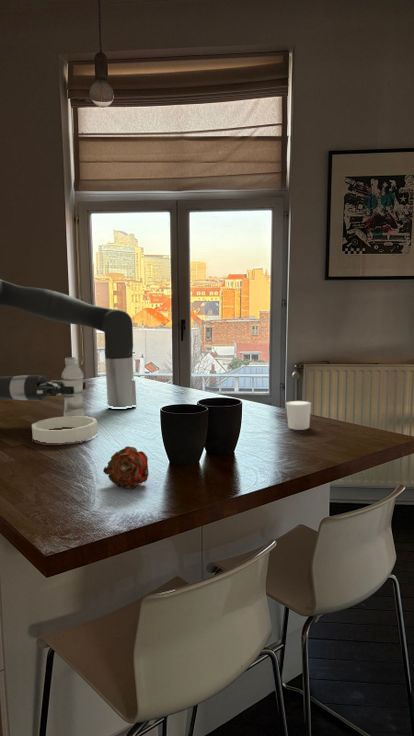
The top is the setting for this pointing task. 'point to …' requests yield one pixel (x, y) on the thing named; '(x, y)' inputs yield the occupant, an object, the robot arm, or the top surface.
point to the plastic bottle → (74, 378)
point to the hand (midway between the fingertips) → (79, 388)
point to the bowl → (81, 430)
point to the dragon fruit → (128, 468)
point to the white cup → (298, 414)
